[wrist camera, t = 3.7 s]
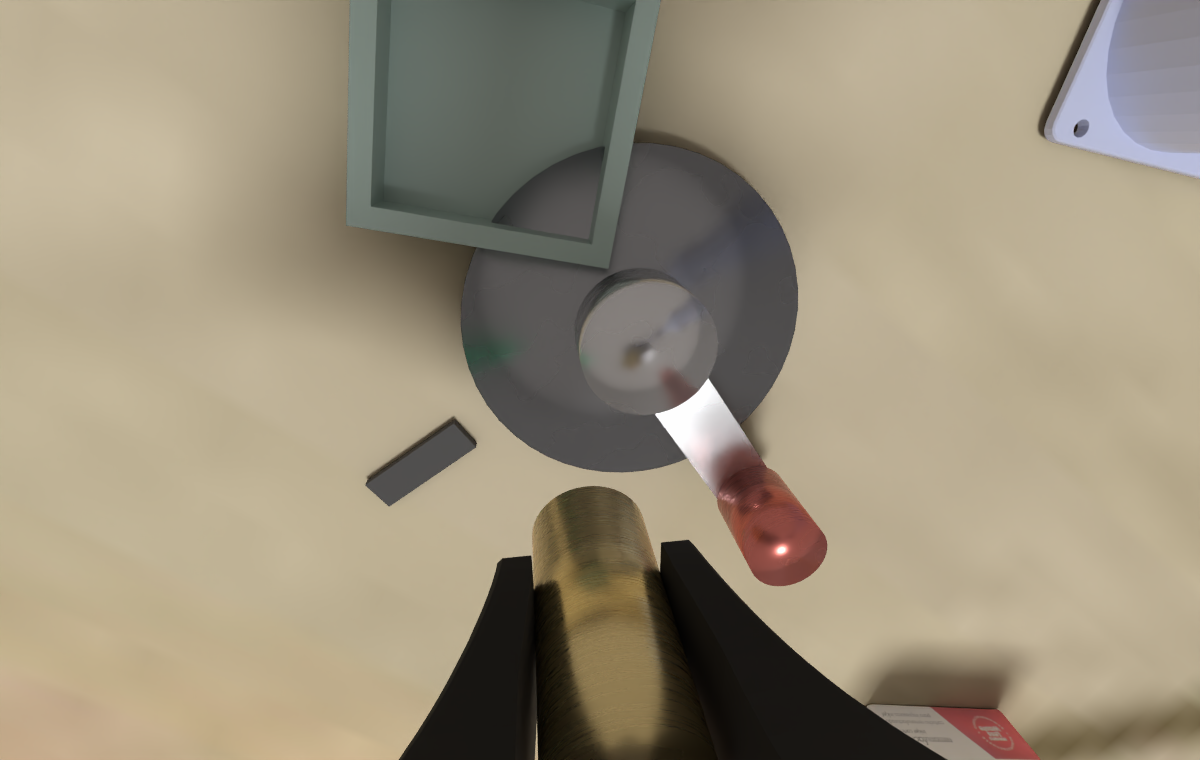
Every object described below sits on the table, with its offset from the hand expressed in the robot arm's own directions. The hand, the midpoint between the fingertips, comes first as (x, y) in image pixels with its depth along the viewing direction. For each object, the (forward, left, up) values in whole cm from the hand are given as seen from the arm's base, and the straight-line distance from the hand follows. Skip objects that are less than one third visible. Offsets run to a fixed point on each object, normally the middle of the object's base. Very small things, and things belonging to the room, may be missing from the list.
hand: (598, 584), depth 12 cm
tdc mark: (+5, +3, -9) cm, 10 cm away
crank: (-4, -1, -7) cm, 8 cm away
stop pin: (0, 0, -2) cm, 2 cm away
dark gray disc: (-1, -4, -9) cm, 9 cm away
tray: (+4, -9, -9) cm, 13 cm away
